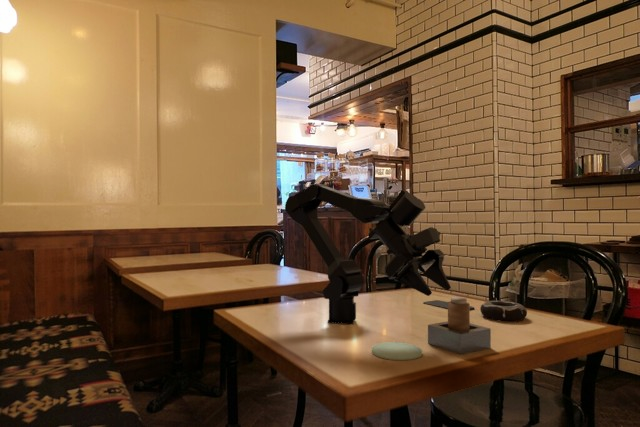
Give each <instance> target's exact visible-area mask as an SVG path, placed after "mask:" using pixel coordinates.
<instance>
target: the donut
mask: <svg viewBox="0 0 640 427" xmlns="http://www.w3.org/2000/svg"><path fill="white" fill-rule="evenodd" d="M480 313H481V315H482V316H483V317H485V318H487V319H488V318H489V319H488V320H492V319H493V320H492V321H497V320H498V322H505V321H508V323H513V322H514V321H516V322H520V321H523V320H525V318H526V317H527V314H528V310H527V309H526V307H525V306H524V305H522V304H521V303H518V302H514V301H507V300H489V301H485V302H483V303H482V304H481V305H480Z"/></svg>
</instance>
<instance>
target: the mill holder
mask: <svg viewBox="0 0 640 427" xmlns="http://www.w3.org/2000/svg"><path fill="white" fill-rule="evenodd" d="M491 330H492V329H491V328H490V327H486V326H482V325H479V324H474V323H472V322H471V323H470V330H466V331H461V332H459V331H456V330H453V329H449V328H448V320H447V321H441V322H436V323H430V324H427V344H429V345H431V346H432V345H433V346H435V347H438V348H440V349H444V350H446V351H449V352H452V353H455V354H458V355H465V354H469V353H473V352H474V353H475V352H478V351H482V350H487V349H490V348H491V343H492V342H491V341H492V340H491V338H492V337H491V333H492V332H491Z"/></svg>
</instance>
